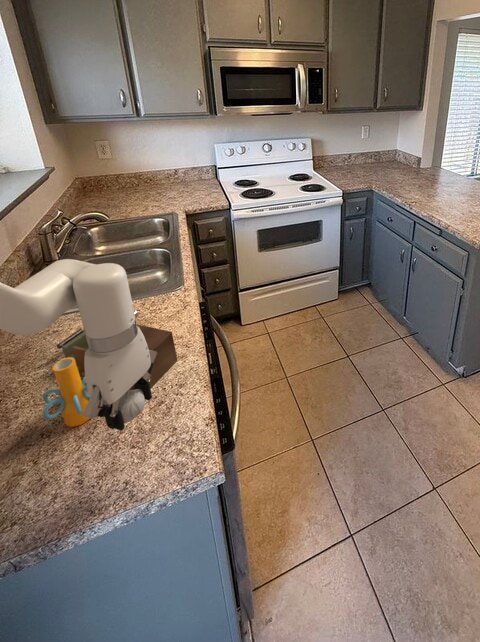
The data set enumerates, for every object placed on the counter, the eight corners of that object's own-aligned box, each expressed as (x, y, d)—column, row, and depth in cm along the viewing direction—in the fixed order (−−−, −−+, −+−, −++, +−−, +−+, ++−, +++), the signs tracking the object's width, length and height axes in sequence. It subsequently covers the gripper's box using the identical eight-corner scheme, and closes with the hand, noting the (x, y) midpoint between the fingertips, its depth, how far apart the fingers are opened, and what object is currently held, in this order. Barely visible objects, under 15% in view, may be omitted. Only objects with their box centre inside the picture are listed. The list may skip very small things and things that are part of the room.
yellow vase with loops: (117, 393, 88) (104, 343, 83) (100, 431, 78) (83, 378, 73) (63, 401, 86) (46, 350, 81) (38, 441, 76) (17, 386, 71)
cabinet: (97, 383, 91) (88, 353, 88) (135, 350, 102) (128, 322, 99) (143, 396, 87) (135, 365, 84) (177, 360, 98) (172, 331, 95)
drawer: (53, 366, 96) (45, 342, 93) (91, 339, 106) (84, 316, 103) (109, 382, 90) (102, 357, 88) (143, 351, 101) (138, 328, 98)
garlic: (127, 399, 71) (123, 379, 69) (153, 402, 70) (149, 381, 68) (107, 426, 65) (101, 405, 63) (135, 429, 65) (130, 408, 63)
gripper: (134, 302, 70) (148, 373, 76) (47, 364, 55) (74, 448, 61) (165, 308, 68) (178, 382, 74) (84, 375, 53) (108, 461, 59)
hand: (131, 411), depth 67 cm, fingers closed on garlic, 6 cm apart
